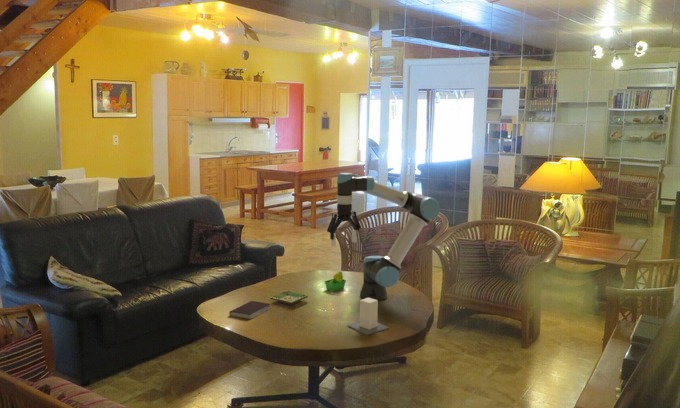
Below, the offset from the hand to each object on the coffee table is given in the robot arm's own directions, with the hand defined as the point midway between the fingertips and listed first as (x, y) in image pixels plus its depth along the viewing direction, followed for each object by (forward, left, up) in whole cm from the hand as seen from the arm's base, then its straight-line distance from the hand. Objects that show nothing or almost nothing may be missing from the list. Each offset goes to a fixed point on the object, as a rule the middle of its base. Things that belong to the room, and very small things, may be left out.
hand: (343, 243), depth 305 cm
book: (+42, -23, -35) cm, 60 cm away
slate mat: (+7, +29, -35) cm, 46 cm away
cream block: (+7, +29, -34) cm, 45 cm away
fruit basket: (-17, -29, -35) cm, 49 cm away
